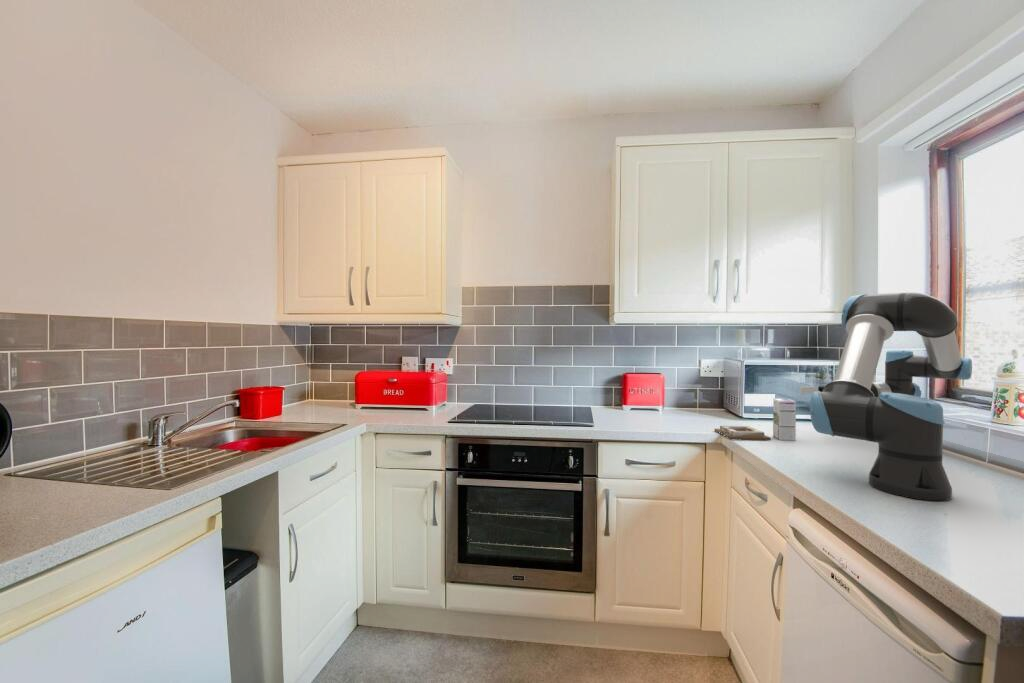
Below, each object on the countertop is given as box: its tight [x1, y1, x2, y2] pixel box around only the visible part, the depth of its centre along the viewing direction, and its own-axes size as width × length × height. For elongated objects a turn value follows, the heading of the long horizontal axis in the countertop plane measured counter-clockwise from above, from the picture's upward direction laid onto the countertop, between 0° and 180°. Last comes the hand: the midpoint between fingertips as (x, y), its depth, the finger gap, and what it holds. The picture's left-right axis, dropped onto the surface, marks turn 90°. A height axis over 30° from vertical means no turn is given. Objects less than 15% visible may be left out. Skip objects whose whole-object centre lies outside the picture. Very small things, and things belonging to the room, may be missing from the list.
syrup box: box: [772, 397, 797, 441], centre depth 159 cm, size 6×6×14 cm
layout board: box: [714, 425, 772, 441], centre depth 164 cm, size 14×14×2 cm
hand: (812, 392), depth 159 cm, fingers open, 13 cm apart
